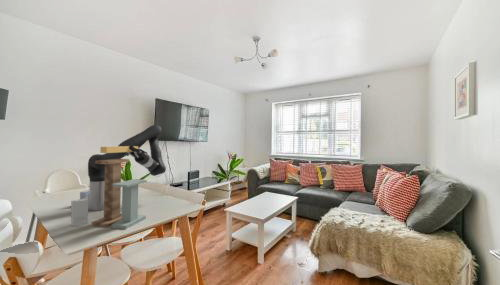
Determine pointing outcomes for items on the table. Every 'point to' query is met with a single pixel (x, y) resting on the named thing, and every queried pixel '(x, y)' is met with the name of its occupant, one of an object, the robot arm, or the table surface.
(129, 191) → the slate pedestal
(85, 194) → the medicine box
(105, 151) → the ochre bar
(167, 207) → the table surface
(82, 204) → the skincare box
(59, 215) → the table surface
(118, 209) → the walnut stand
